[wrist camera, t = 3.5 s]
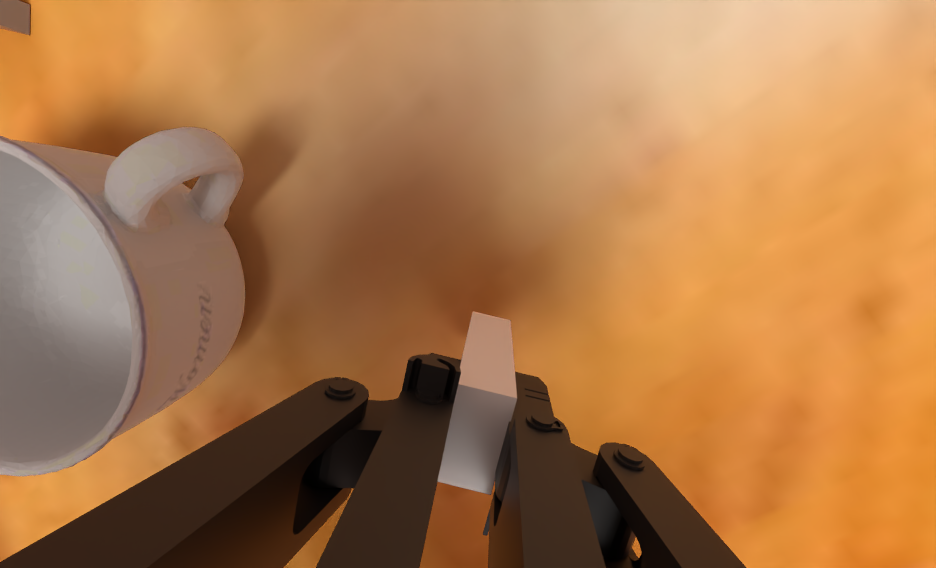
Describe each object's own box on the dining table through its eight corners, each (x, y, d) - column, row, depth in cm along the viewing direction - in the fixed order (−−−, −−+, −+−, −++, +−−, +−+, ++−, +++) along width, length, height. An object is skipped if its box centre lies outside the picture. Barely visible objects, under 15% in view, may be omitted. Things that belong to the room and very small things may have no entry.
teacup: (138, 410, 22) (-54, 525, 15) (12, 216, 21) (-281, 229, 13) (375, 297, 20) (300, 361, 13) (256, 72, 19) (83, -15, 11)
